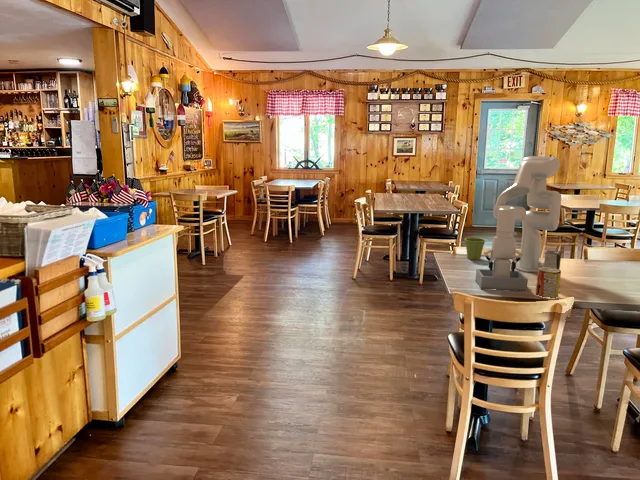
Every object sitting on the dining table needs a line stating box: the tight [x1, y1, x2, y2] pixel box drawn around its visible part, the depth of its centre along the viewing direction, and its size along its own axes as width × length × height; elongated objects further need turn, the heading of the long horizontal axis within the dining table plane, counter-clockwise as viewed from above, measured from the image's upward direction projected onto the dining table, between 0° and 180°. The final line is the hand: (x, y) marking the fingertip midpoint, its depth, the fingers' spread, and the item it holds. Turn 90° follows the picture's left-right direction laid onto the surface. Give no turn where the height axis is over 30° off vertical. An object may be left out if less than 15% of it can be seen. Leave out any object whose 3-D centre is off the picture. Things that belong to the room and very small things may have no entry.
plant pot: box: [463, 237, 487, 261], centre depth 272 cm, size 12×12×11 cm
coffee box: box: [543, 249, 562, 270], centre depth 221 cm, size 9×6×16 cm
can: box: [493, 259, 512, 278], centre depth 219 cm, size 8×8×12 cm
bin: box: [475, 268, 529, 292], centre depth 219 cm, size 20×14×6 cm
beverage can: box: [535, 267, 562, 298], centre depth 205 cm, size 9×9×12 cm
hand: (501, 270), depth 219 cm, fingers open, 9 cm apart
